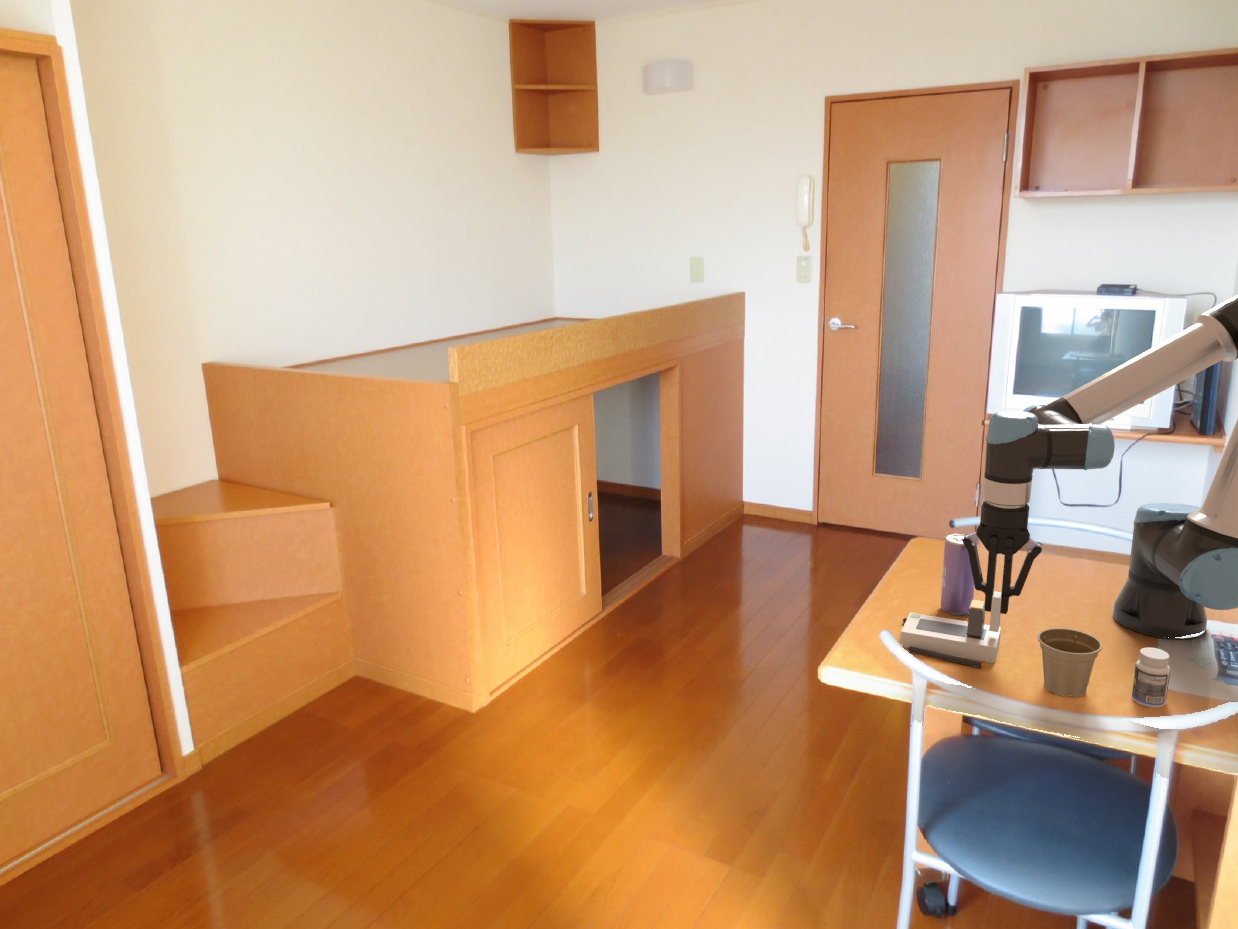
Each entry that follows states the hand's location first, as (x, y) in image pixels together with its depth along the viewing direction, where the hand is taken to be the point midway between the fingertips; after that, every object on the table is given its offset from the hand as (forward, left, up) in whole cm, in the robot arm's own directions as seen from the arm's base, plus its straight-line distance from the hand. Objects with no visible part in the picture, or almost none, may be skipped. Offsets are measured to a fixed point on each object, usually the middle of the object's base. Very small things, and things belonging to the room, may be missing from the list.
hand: (994, 628), depth 157 cm
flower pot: (-12, +9, -5) cm, 16 cm away
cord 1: (+7, +6, -5) cm, 11 cm away
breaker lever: (+3, 0, -1) cm, 3 cm away
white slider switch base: (+7, 0, -5) cm, 9 cm away
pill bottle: (-24, +8, -5) cm, 26 cm away
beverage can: (+8, -16, -5) cm, 19 cm away
